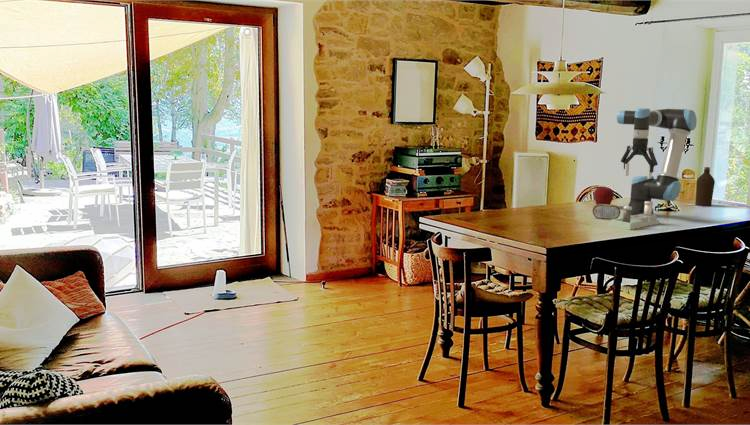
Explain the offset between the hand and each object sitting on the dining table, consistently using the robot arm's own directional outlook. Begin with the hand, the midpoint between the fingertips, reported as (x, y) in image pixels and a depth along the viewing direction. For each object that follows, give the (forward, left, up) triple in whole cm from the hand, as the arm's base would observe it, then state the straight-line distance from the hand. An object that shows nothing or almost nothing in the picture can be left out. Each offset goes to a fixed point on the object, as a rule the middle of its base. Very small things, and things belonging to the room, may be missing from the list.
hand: (637, 177), depth 368 cm
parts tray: (+1, -8, -26) cm, 28 cm away
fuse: (+1, +12, -24) cm, 27 cm away
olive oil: (-13, +104, -27) cm, 108 cm away
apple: (-45, +39, -27) cm, 65 cm away
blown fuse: (+1, -8, -25) cm, 27 cm away
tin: (-19, +3, -27) cm, 33 cm away
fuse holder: (+1, +8, -26) cm, 27 cm away
